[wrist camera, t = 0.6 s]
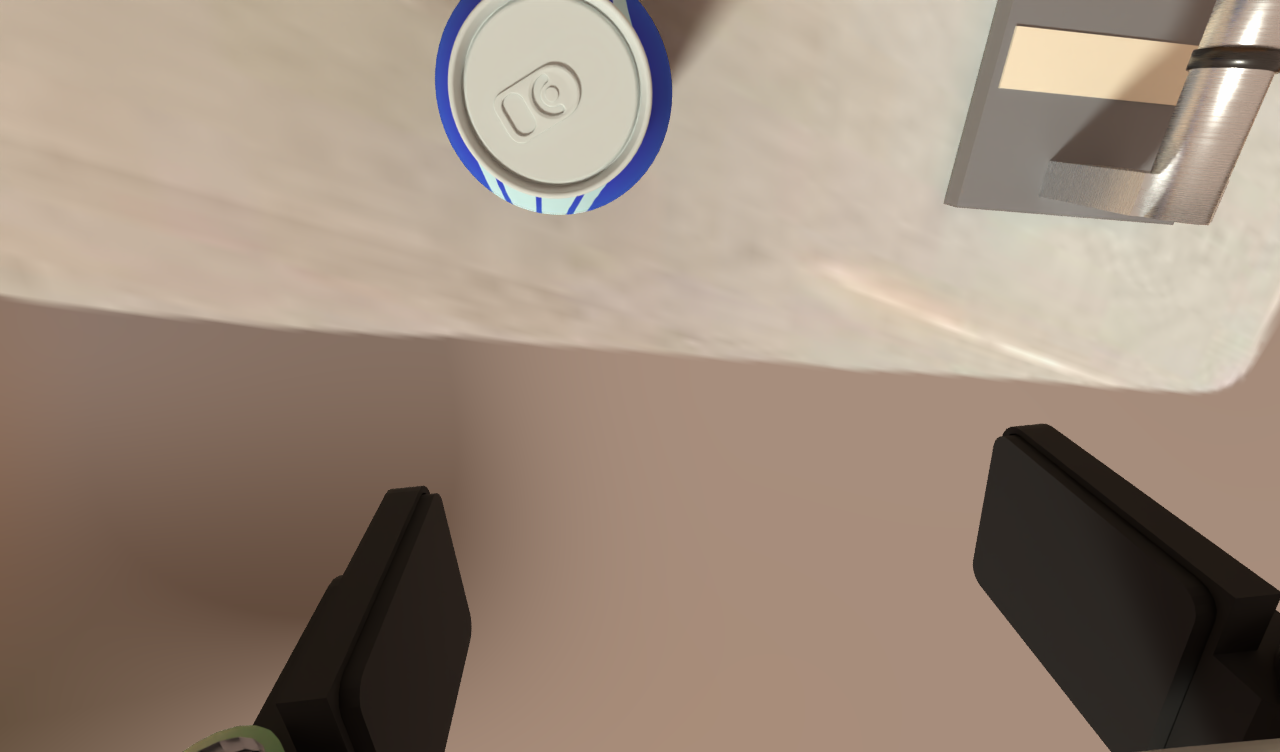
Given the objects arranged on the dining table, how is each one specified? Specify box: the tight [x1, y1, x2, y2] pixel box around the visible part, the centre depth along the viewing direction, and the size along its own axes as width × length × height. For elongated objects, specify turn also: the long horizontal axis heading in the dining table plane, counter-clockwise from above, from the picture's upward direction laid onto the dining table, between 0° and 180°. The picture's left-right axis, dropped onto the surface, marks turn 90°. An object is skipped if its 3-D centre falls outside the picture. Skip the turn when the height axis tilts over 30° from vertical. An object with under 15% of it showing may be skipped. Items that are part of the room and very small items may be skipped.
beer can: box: [435, 0, 672, 215], centre depth 28 cm, size 8×8×16 cm
